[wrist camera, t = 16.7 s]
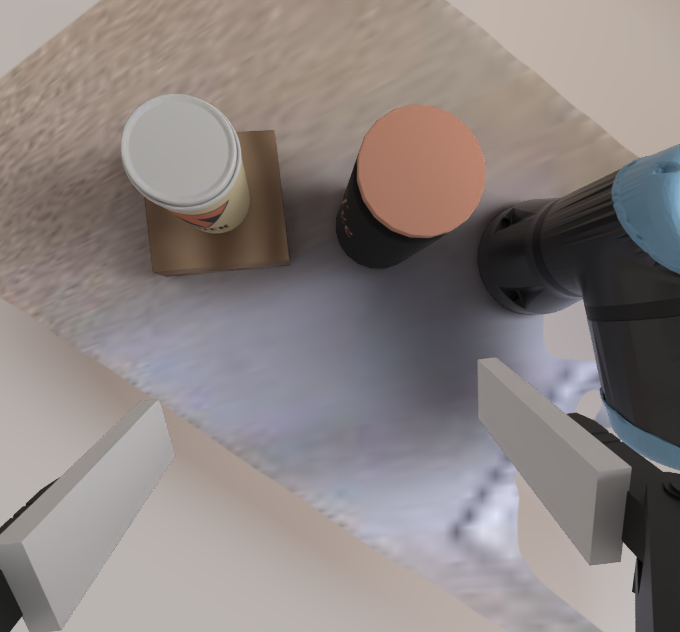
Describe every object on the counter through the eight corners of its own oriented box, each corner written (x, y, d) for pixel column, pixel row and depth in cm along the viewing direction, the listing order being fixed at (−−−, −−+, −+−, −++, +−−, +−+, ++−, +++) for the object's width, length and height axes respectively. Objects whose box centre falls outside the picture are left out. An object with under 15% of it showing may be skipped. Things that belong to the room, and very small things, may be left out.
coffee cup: (162, 229, 39) (101, 188, 27) (184, 149, 39) (133, 73, 27) (246, 250, 40) (223, 220, 28) (266, 172, 40) (251, 109, 28)
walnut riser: (276, 147, 44) (274, 130, 40) (290, 264, 44) (289, 258, 40) (152, 154, 43) (137, 137, 39) (166, 276, 43) (152, 271, 39)
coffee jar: (358, 173, 46) (395, 78, 28) (428, 213, 47) (508, 146, 29) (320, 245, 45) (333, 194, 27) (392, 284, 46) (451, 260, 28)
